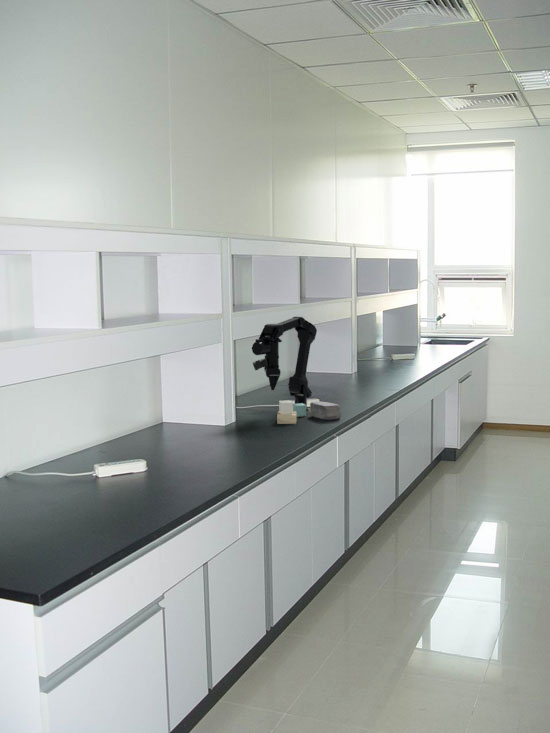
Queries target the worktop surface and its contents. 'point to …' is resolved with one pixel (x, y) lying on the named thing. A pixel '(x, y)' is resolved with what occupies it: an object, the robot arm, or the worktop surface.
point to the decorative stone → (325, 410)
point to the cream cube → (285, 407)
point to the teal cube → (299, 409)
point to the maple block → (286, 418)
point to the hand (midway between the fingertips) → (272, 388)
